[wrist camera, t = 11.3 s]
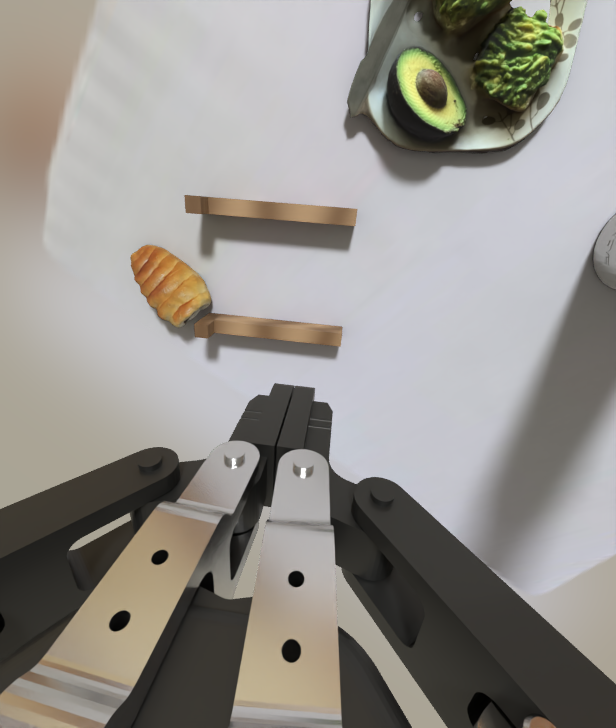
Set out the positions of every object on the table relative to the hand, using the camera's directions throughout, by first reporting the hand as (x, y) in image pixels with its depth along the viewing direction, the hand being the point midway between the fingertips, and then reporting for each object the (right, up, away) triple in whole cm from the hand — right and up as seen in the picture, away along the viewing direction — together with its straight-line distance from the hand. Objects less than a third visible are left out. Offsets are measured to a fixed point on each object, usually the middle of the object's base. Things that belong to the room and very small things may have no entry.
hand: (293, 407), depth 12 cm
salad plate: (+13, +28, +16) cm, 35 cm away
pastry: (-15, +11, +27) cm, 33 cm away
